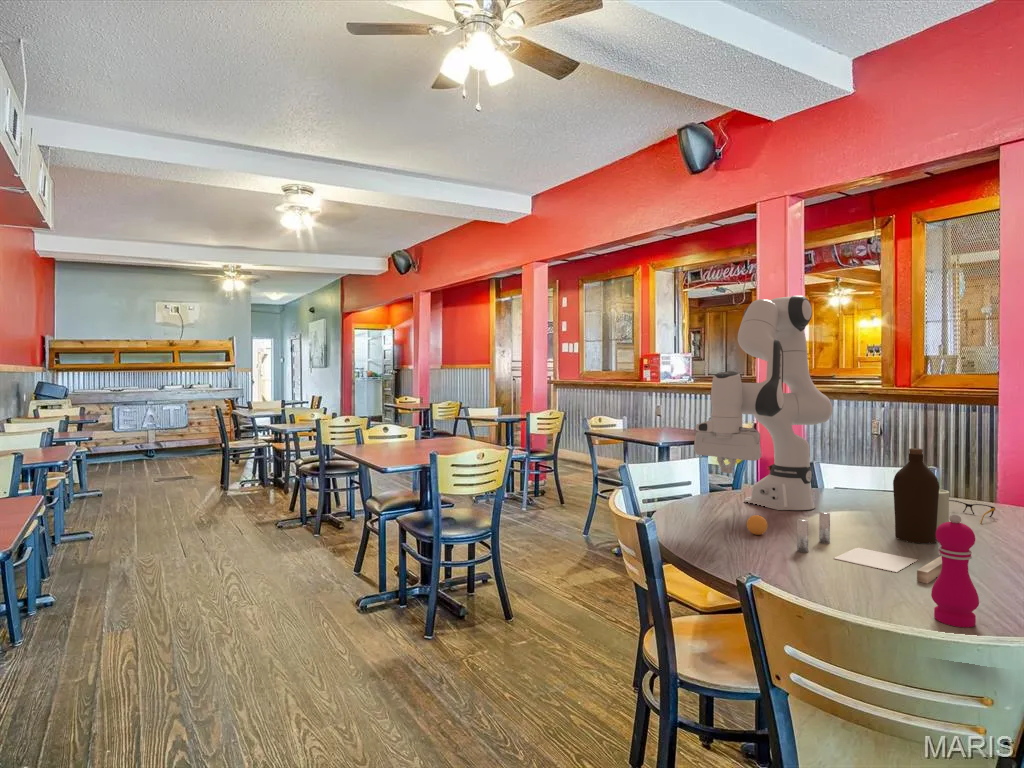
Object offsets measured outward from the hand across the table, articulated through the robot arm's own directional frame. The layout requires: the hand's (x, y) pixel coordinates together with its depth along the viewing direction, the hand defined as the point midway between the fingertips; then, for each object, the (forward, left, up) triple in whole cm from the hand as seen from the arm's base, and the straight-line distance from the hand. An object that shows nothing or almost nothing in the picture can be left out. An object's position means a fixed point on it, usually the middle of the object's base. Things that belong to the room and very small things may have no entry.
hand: (726, 472), depth 182 cm
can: (+39, +43, -17) cm, 61 cm away
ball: (+9, 0, -14) cm, 17 cm away
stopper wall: (+53, 0, -17) cm, 56 cm away
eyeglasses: (+40, +69, -17) cm, 82 cm away
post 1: (+25, -6, -17) cm, 31 cm away
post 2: (+25, +6, -17) cm, 31 cm away
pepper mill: (+64, -29, -17) cm, 73 cm away
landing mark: (+40, 0, -17) cm, 44 cm away
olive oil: (+40, +28, -17) cm, 52 cm away
